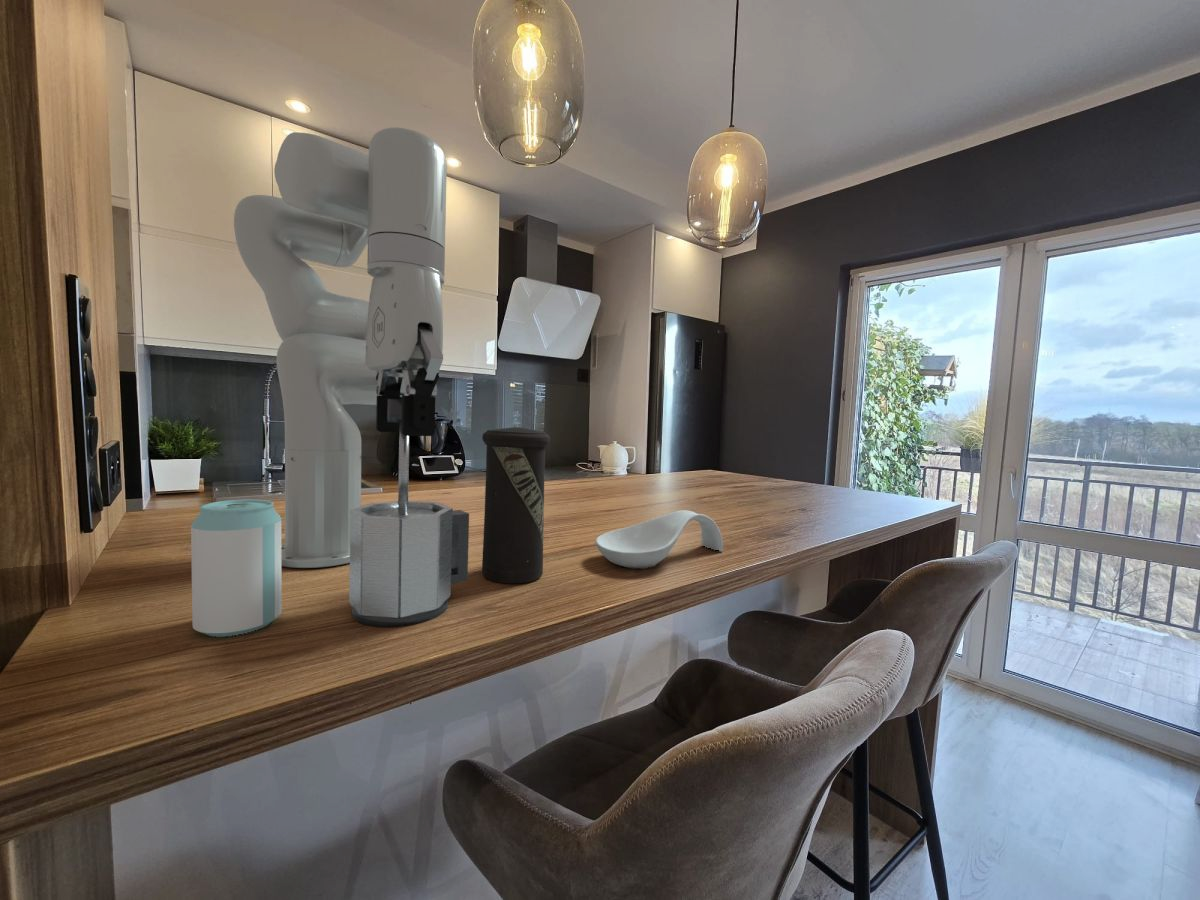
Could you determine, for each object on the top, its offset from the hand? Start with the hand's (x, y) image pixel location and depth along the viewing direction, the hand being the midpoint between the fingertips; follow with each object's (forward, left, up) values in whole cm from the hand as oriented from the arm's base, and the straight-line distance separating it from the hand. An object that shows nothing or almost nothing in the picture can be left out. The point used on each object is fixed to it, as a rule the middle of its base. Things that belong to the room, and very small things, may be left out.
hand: (404, 432), depth 53 cm
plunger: (0, 0, -10) cm, 10 cm away
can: (-5, -14, -20) cm, 25 cm away
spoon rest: (+3, +40, -20) cm, 45 cm away
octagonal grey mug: (0, +1, -19) cm, 19 cm away
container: (-3, +16, -20) cm, 25 cm away
